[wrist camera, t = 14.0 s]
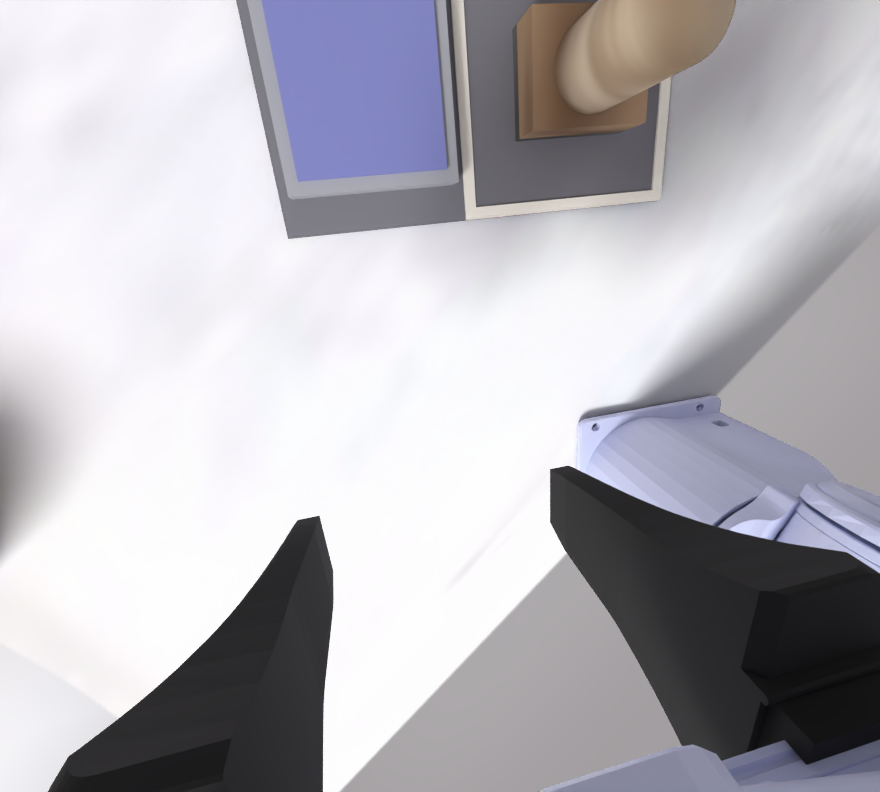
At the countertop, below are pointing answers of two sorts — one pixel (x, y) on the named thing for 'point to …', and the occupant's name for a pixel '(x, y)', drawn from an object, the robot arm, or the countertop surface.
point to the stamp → (604, 61)
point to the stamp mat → (422, 118)
